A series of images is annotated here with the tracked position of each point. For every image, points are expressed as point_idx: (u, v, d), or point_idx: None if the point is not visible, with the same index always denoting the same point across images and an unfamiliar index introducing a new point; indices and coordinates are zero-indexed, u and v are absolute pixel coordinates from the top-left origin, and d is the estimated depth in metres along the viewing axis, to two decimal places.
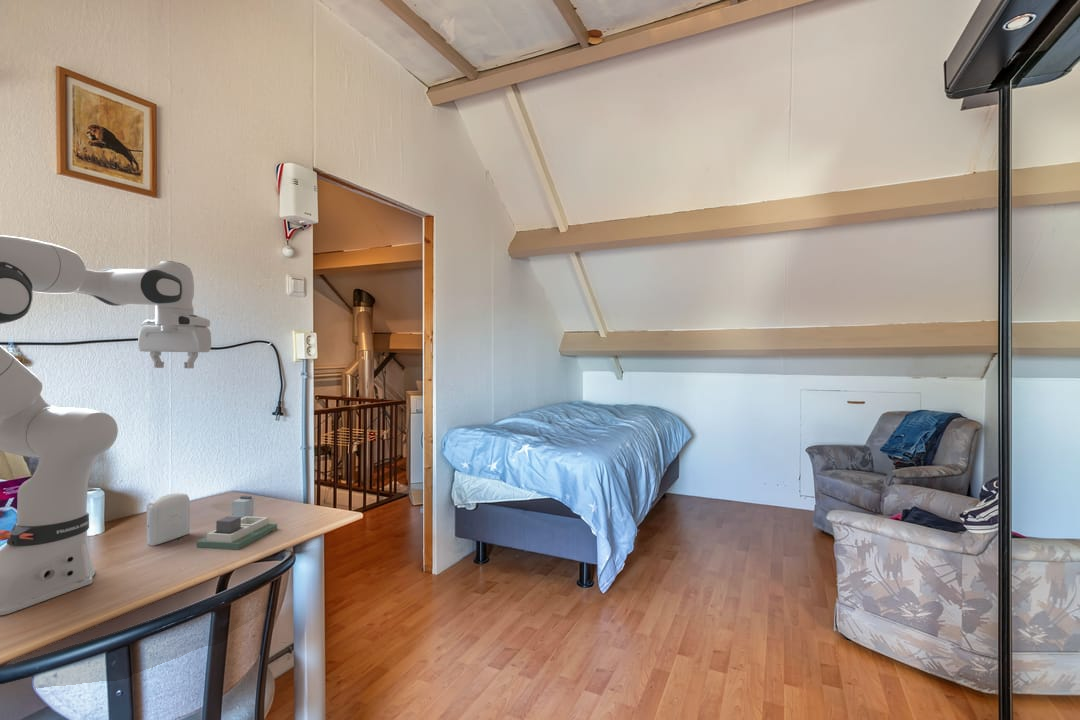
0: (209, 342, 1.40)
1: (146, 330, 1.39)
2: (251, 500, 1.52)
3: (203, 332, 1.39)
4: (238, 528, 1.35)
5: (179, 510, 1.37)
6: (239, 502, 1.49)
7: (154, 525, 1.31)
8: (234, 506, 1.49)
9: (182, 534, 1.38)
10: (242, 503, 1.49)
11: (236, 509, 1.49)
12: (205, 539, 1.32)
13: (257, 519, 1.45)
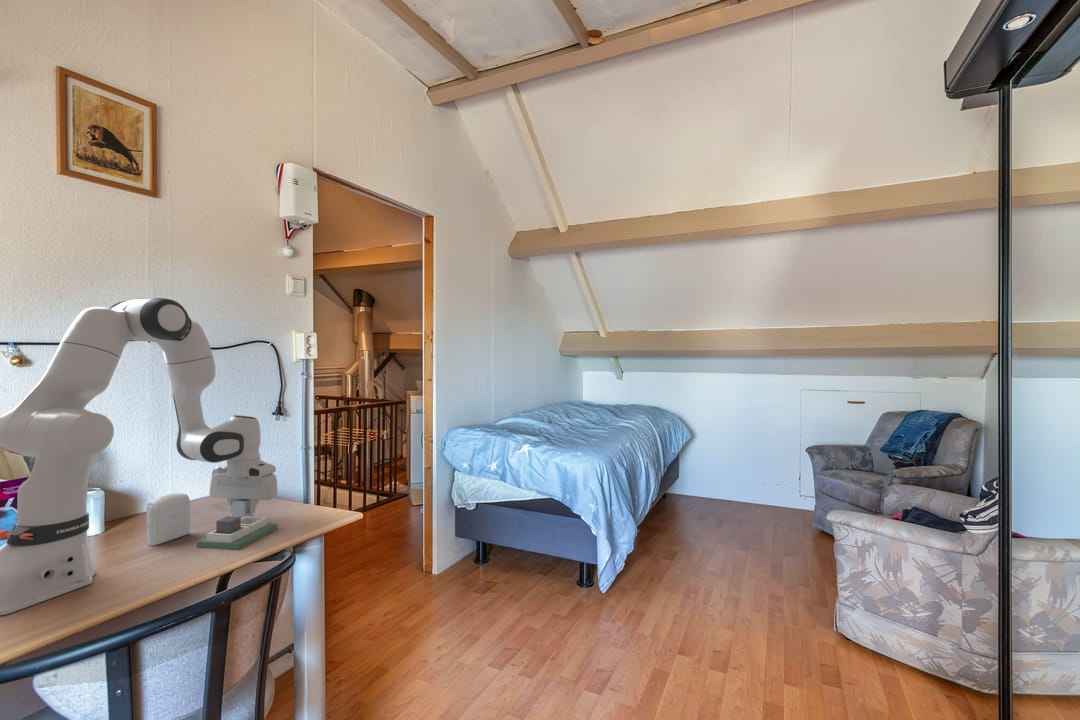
0: (276, 489, 1.51)
1: (217, 478, 1.50)
2: None
3: (271, 481, 1.49)
4: (238, 528, 1.35)
5: (179, 510, 1.37)
6: (239, 502, 1.49)
7: (154, 525, 1.31)
8: (234, 506, 1.49)
9: (182, 534, 1.38)
10: (242, 503, 1.49)
11: (236, 509, 1.49)
12: (205, 539, 1.32)
13: (257, 519, 1.45)
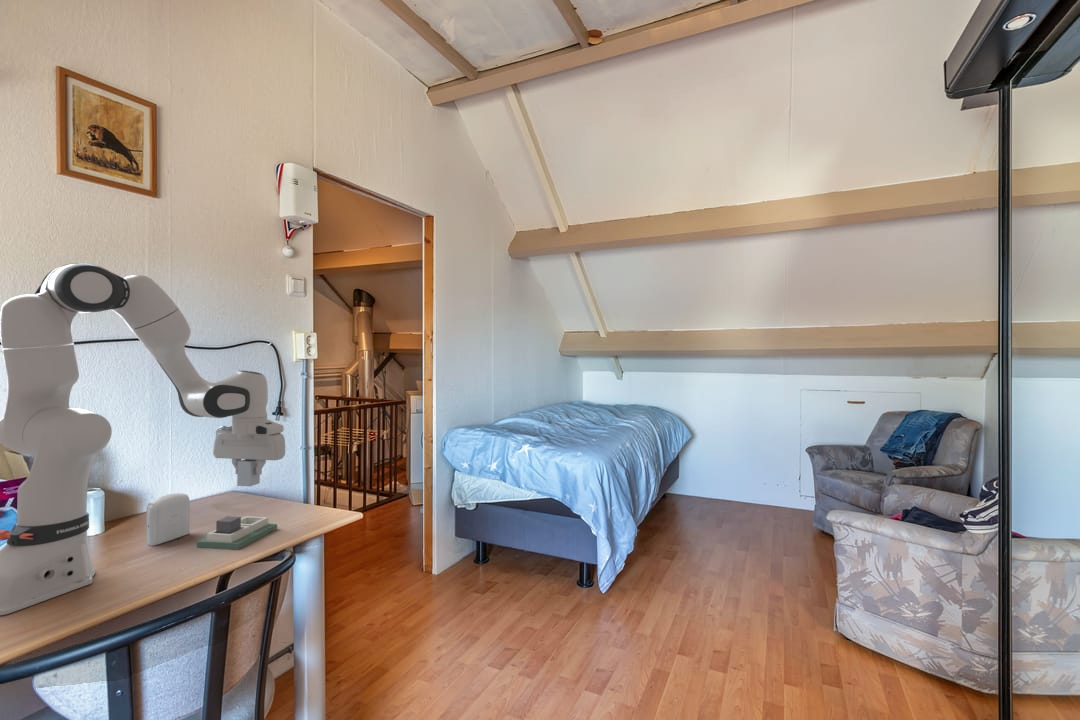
0: (284, 449, 1.43)
1: (222, 437, 1.41)
2: None
3: (279, 440, 1.41)
4: (238, 528, 1.35)
5: (179, 510, 1.37)
6: (245, 462, 1.40)
7: (154, 525, 1.31)
8: (239, 466, 1.40)
9: (182, 534, 1.38)
10: (248, 463, 1.40)
11: (241, 470, 1.40)
12: (205, 539, 1.32)
13: (257, 519, 1.45)
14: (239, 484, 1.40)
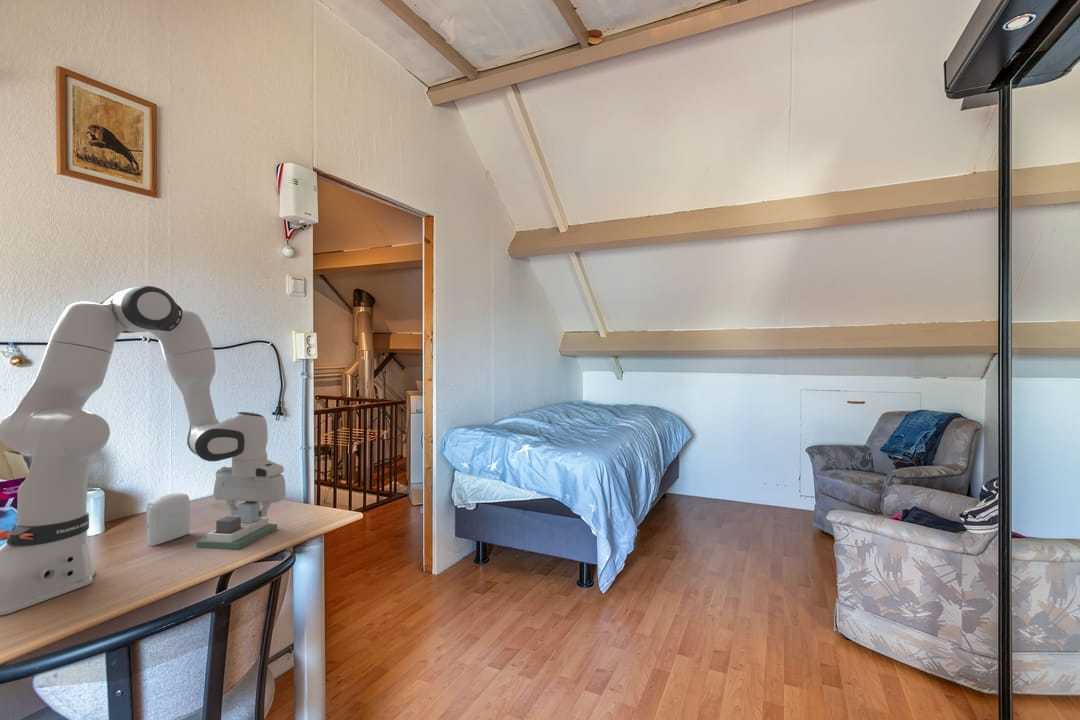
0: (284, 490, 1.42)
1: (222, 479, 1.41)
2: (257, 504, 1.43)
3: (279, 482, 1.40)
4: (238, 528, 1.35)
5: (179, 510, 1.37)
6: (245, 506, 1.40)
7: (154, 525, 1.31)
8: (240, 510, 1.40)
9: (182, 534, 1.38)
10: (248, 507, 1.40)
11: (241, 514, 1.40)
12: (205, 539, 1.32)
13: None
14: None
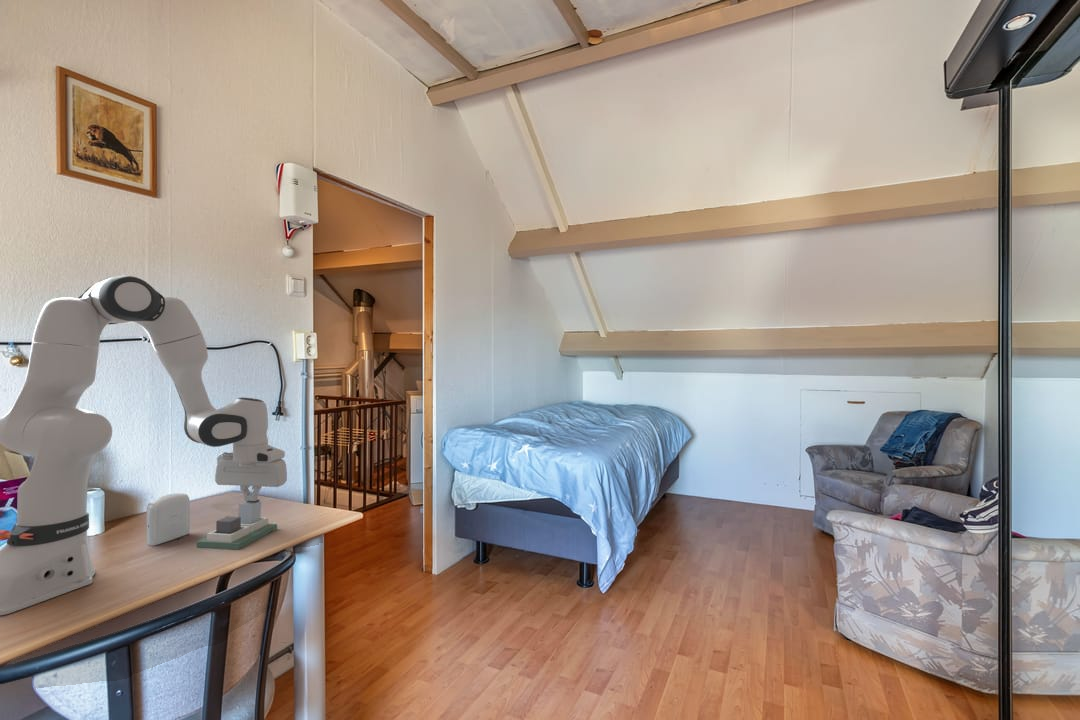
0: (285, 475, 1.43)
1: (223, 464, 1.41)
2: (258, 503, 1.43)
3: (280, 467, 1.41)
4: (238, 528, 1.35)
5: (179, 510, 1.37)
6: (246, 505, 1.41)
7: (154, 525, 1.31)
8: (240, 509, 1.41)
9: (182, 534, 1.38)
10: (249, 506, 1.40)
11: (242, 512, 1.40)
12: (205, 539, 1.32)
13: None
14: None
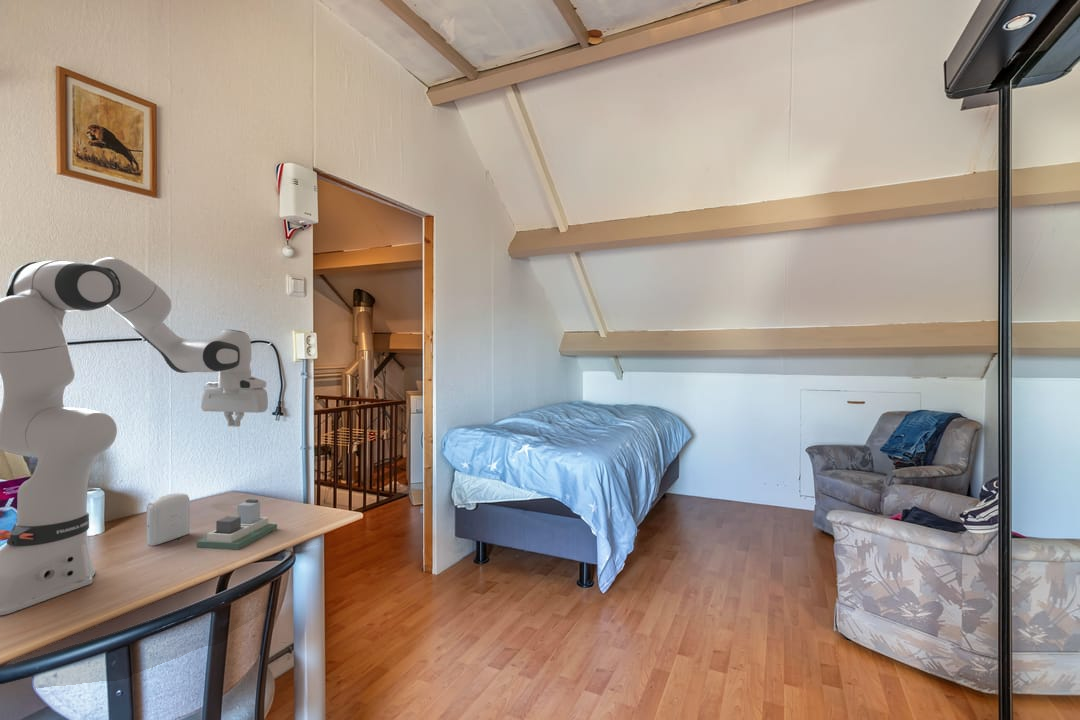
0: (266, 402, 1.54)
1: (209, 392, 1.52)
2: (257, 504, 1.43)
3: (261, 394, 1.52)
4: (238, 528, 1.35)
5: (179, 510, 1.37)
6: (245, 506, 1.40)
7: (154, 525, 1.31)
8: (240, 510, 1.40)
9: (182, 534, 1.38)
10: (248, 507, 1.40)
11: (241, 514, 1.40)
12: (205, 539, 1.32)
13: None
14: None
